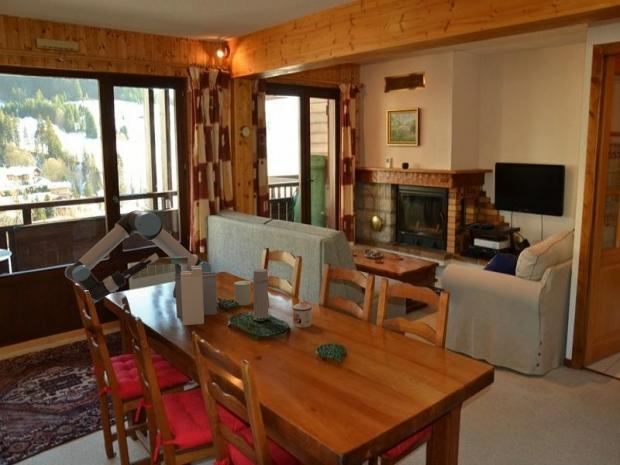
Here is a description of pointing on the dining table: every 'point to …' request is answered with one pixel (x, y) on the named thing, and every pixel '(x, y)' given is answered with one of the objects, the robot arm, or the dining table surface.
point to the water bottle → (260, 293)
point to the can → (242, 292)
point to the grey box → (208, 294)
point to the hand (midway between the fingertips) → (157, 256)
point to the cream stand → (192, 296)
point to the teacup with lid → (302, 315)
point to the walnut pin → (169, 260)
